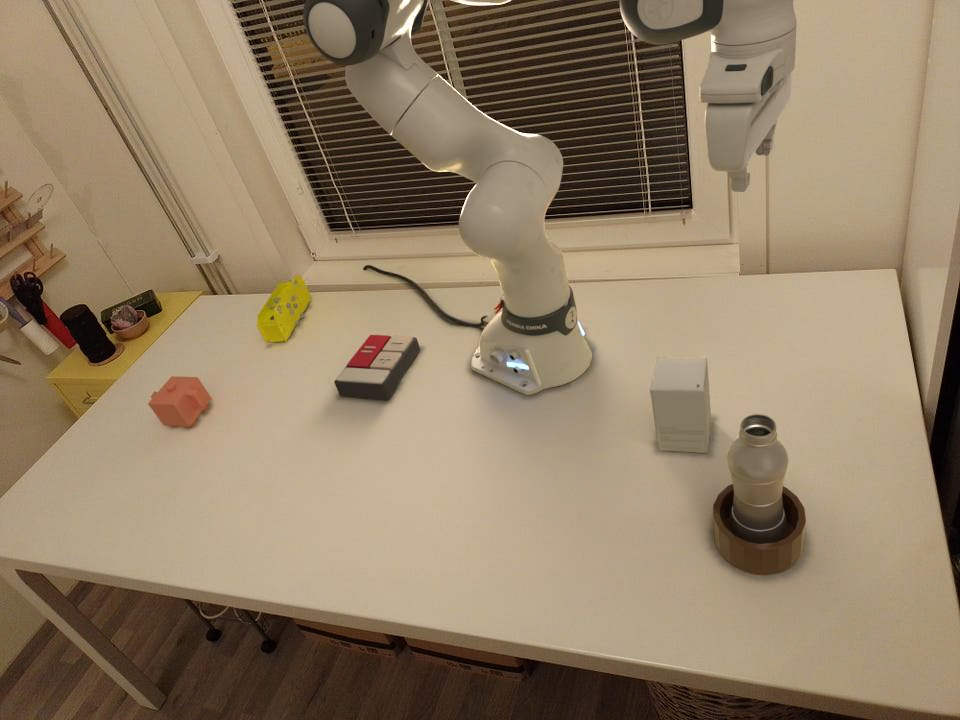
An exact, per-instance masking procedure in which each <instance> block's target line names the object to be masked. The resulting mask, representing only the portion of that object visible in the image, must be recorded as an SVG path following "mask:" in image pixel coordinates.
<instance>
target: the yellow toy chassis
mask: <svg viewBox="0 0 960 720" xmlns="http://www.w3.org/2000/svg"><path fill="white" fill-rule="evenodd" d="M311 300H312V295H311V293H310V291H309V289H308V287H307V285H306V283H305V280H304V278H303V276H302V275H295V276H294V277H293V278H292V280H290V281H286V282H281V281H280V282H278V284H277V285H276V287H275V289H274V290H273V291H272V292H271V294H270V296H269V297H268V299H267V301H266V302H265V303H264V305H263V306H262V307H261V310H260V311H259V312H258V314H257V316H256V327H257V328H258V331H259V332H260V334H261V336H262V338H263V339H264V341H265V343H266V344H268V343H269V342H270V343H279V342H287V341H288V339H289V338H290V337H291V336H292V333H293V331H294V329H295V327H299V326H300V324H301V322H300V319H304V317H305V314H304V312H305V311H306V310H307V307H308V305H309V304H310V301H311Z"/></svg>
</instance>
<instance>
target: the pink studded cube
mask: <svg viewBox="0 0 960 720" xmlns="http://www.w3.org/2000/svg"><path fill="white" fill-rule="evenodd" d="M150 398H151V399H150V400H149V401H148V403H147V404H148V406H149V408H150V409H151V410H152V411H153V413H154V414H155V415H156V417H157V418H158V420H159V421H160V423H161V424H162V425H163V426H167V427H168V426H169V427H171V426H172V427H185V428H187V427H188V428H189V427H193V426H195V425H196V424H197V419H198V417H199V416H200V415H201V413H203V412H206V411H207V410H208V408H209V406H208V405H209V404H210V403H211V401H212V400H213V399H212V397H211V395H210V394H209V392H208V391H207V389H206V388H205V385H204V384H203V383H202V381H201V380H200V378H199V377H198V376H176V375H175V376H170V378H169V379H168V380H167V381H166V382H165V383H164V384H163V385H162V386H161V388H159V390H158V391H154V392H152V394H151V395H150Z"/></svg>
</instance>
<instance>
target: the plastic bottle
mask: <svg viewBox="0 0 960 720" xmlns="http://www.w3.org/2000/svg"><path fill="white" fill-rule="evenodd" d="M739 426H740V428H739V433H738V437H737V438H736V439H735V440H733V442H732V443H731V444H730V446H729V449H728V451H727V454H726V459H727V464H728V468H729V472H730V475H731V480H732V484H733V487H734V500H733V506H732V510H731V514H730V525H731V528H732V531H733V533H734V535H735V536H736V537H738V538H741V539H743V540H745V541H747V542H752V543H757V544H766V543H776V542H778V541H780V540H782V539H783V537H784V534H785V531H786V528H787V520H786V515H785V512H784V509H783V502H782V490H783V486H784V481H785V477H786V473H787V470H788V466H789V455H788V452H787V449H786V448H785V446H784V444H783V443H782V442H781V441H780V440H779V439H778V432H777V424H776V421H775V420H774V419H773V418H772V417H770V416H768V415H765V414H762V413H761V414H759V413H755V414H750V415H747V416H746V417H744V418H743V419H742V420H741V422H740V425H739Z"/></svg>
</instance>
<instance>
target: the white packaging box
mask: <svg viewBox="0 0 960 720" xmlns="http://www.w3.org/2000/svg"><path fill="white" fill-rule="evenodd" d="M649 394H650V399H651V405H652V414H653V420H654V427H655V428H654V429H655V435H656V441H657V447H658V451H665V452H681V453H699V454H708V453H709V444H710V437H711V428H712V427H711V426H712V410H711V395H710V380H709V366H708V358H707V356H686V357H685V356H656V359H655V364H654V368H653V374H652V378H651V383H650V387H649Z"/></svg>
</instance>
